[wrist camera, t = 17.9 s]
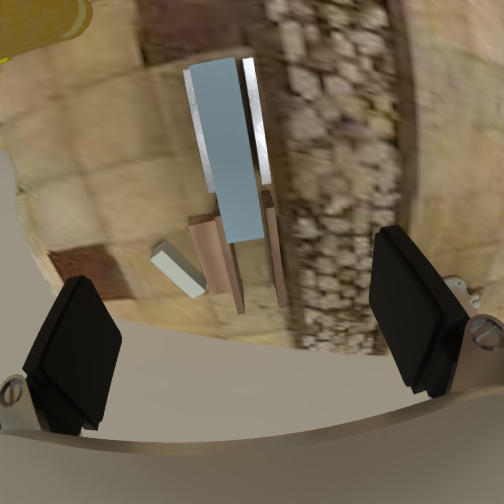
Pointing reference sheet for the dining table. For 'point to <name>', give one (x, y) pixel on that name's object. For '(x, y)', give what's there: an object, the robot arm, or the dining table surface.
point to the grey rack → (255, 122)
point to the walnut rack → (232, 261)
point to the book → (40, 24)
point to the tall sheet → (228, 147)
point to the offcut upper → (178, 269)
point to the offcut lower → (210, 253)
